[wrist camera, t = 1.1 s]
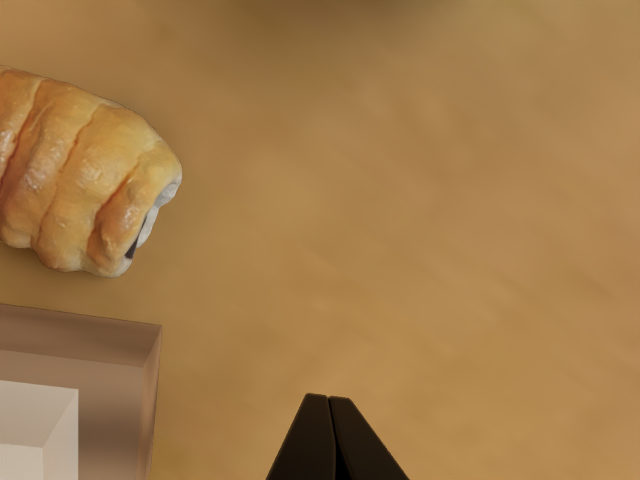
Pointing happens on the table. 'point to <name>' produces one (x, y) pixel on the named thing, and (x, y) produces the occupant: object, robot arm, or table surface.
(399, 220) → the table surface
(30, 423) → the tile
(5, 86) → the pastry
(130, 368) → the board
